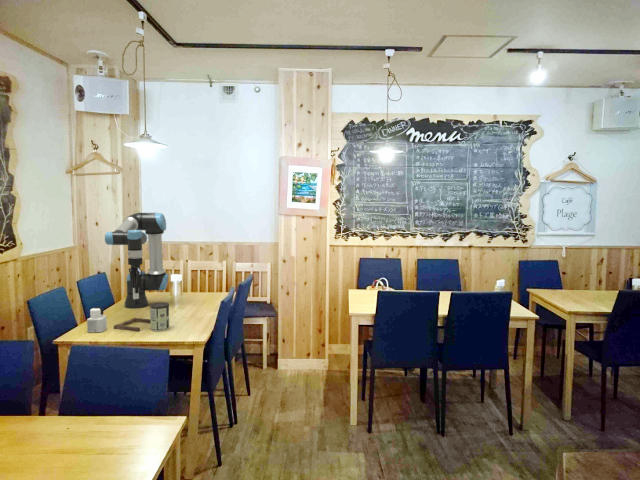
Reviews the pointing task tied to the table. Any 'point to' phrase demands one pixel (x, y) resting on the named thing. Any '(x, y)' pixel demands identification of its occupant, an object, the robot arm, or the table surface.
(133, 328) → the dock
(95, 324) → the container
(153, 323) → the coffee can
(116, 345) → the table surface
